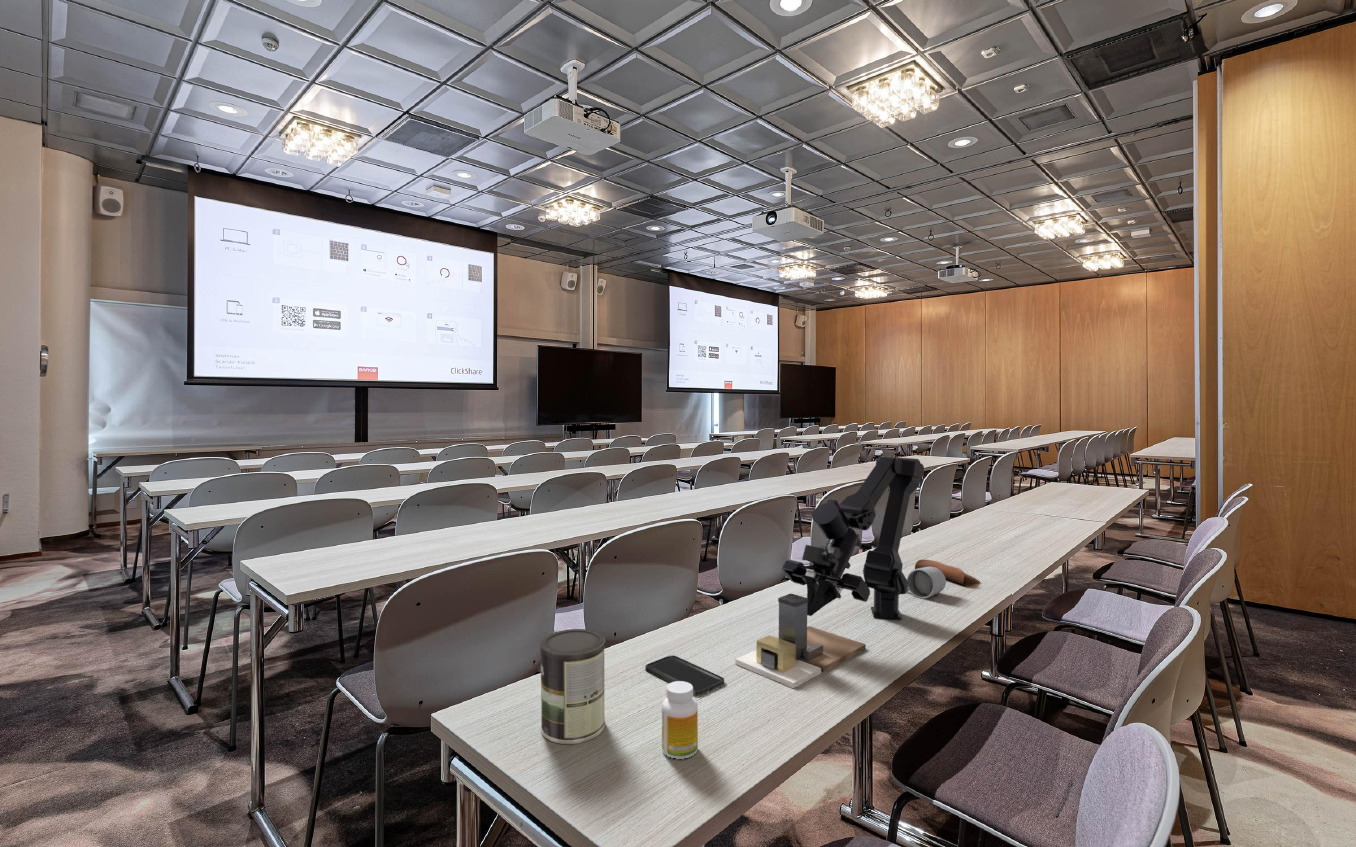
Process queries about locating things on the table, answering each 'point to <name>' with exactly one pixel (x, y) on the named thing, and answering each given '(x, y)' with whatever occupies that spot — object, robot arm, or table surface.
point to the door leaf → (831, 648)
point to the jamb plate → (789, 678)
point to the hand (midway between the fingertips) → (808, 614)
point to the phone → (685, 674)
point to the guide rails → (813, 652)
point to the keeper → (780, 647)
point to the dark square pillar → (790, 627)
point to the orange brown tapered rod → (949, 572)
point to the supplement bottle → (679, 721)
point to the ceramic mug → (926, 582)
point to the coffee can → (572, 686)
